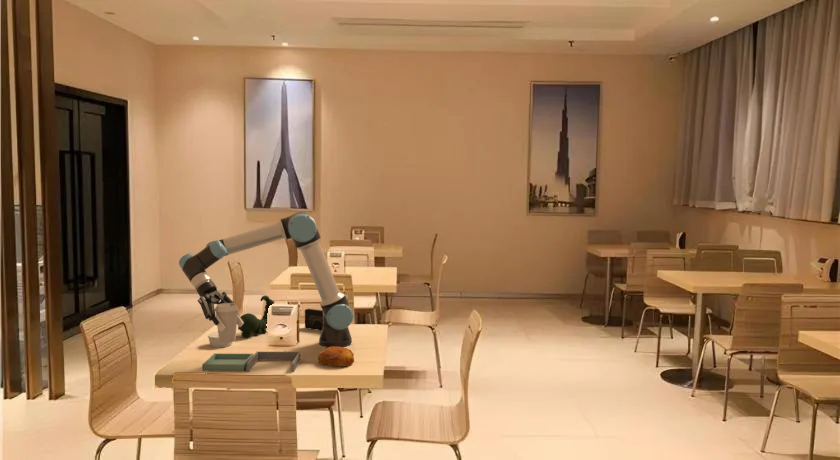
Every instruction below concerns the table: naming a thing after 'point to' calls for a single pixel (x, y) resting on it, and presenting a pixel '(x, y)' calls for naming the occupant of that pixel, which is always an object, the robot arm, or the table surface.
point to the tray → (227, 362)
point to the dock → (275, 358)
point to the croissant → (336, 356)
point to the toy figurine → (255, 321)
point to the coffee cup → (227, 321)
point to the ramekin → (217, 341)
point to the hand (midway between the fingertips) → (232, 327)
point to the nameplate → (314, 319)
